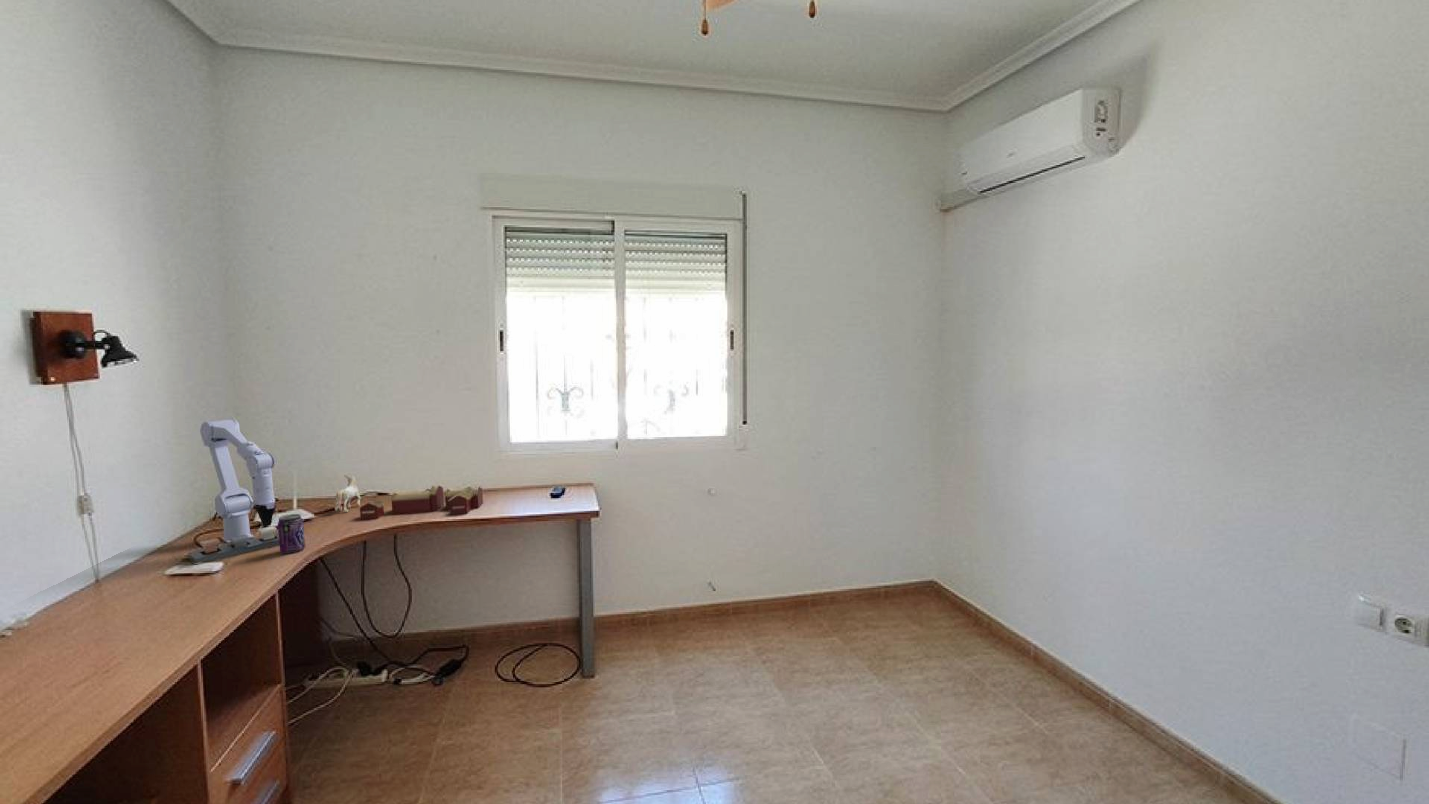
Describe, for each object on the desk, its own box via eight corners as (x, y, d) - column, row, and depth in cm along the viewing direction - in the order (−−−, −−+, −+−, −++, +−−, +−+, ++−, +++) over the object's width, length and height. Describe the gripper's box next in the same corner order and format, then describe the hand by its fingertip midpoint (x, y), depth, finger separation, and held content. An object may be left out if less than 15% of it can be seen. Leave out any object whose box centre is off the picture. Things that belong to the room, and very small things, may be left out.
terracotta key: (200, 551, 201) (199, 541, 201) (217, 547, 204) (216, 538, 204) (203, 554, 198) (202, 544, 198) (220, 550, 202) (219, 540, 201)
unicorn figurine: (364, 502, 270) (362, 473, 269) (353, 513, 251) (351, 482, 250) (346, 504, 268) (343, 474, 266) (334, 515, 249) (331, 484, 248)
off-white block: (258, 538, 213) (257, 529, 213) (273, 535, 217) (272, 526, 216) (262, 541, 211) (261, 531, 210) (277, 537, 214) (276, 528, 214)
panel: (188, 558, 201) (188, 552, 201) (281, 537, 221) (280, 532, 221) (195, 564, 195) (194, 558, 194) (289, 543, 214) (289, 537, 214)
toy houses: (484, 502, 265) (483, 479, 264) (473, 515, 245) (471, 490, 244) (375, 509, 259) (373, 486, 258) (354, 522, 239) (352, 498, 238)
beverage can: (292, 554, 202) (289, 520, 201) (275, 553, 203) (271, 519, 202) (310, 547, 209) (307, 514, 207) (293, 546, 210) (290, 513, 209)
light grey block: (231, 547, 207) (229, 537, 207) (246, 543, 211) (245, 534, 210) (234, 550, 205) (233, 540, 204) (250, 546, 208) (249, 536, 208)
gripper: (243, 487, 213) (247, 524, 215) (254, 493, 204) (259, 532, 205) (267, 483, 219) (271, 520, 220) (279, 488, 210) (283, 526, 211)
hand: (267, 525), depth 213 cm, fingers closed
